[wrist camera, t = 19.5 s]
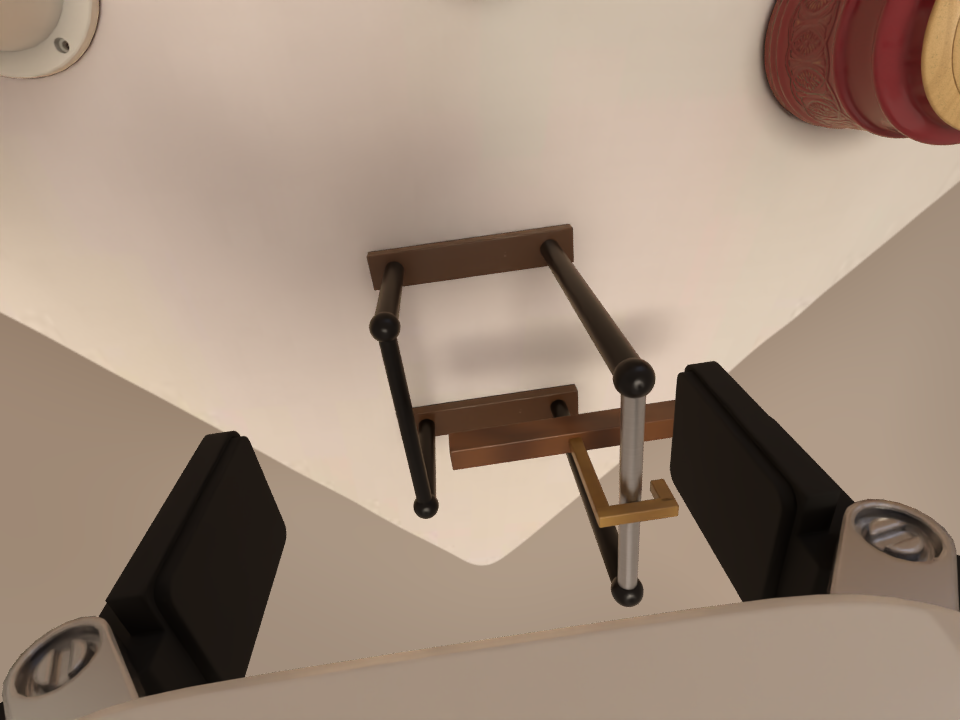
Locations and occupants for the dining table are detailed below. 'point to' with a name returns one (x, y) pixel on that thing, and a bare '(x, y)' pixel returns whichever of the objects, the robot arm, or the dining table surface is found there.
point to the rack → (442, 419)
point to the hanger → (573, 454)
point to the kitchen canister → (869, 65)
